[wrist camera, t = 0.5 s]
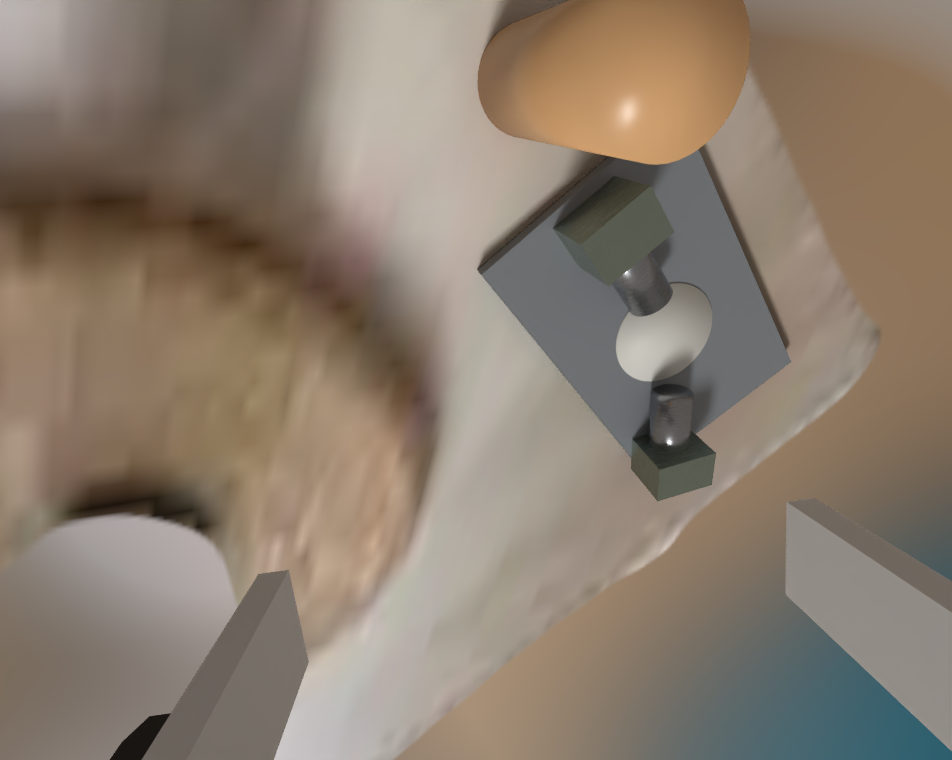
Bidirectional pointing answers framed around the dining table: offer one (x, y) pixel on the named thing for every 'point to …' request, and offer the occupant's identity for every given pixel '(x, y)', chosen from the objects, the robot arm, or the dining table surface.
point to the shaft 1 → (621, 242)
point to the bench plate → (654, 336)
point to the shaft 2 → (672, 446)
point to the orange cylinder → (619, 75)
